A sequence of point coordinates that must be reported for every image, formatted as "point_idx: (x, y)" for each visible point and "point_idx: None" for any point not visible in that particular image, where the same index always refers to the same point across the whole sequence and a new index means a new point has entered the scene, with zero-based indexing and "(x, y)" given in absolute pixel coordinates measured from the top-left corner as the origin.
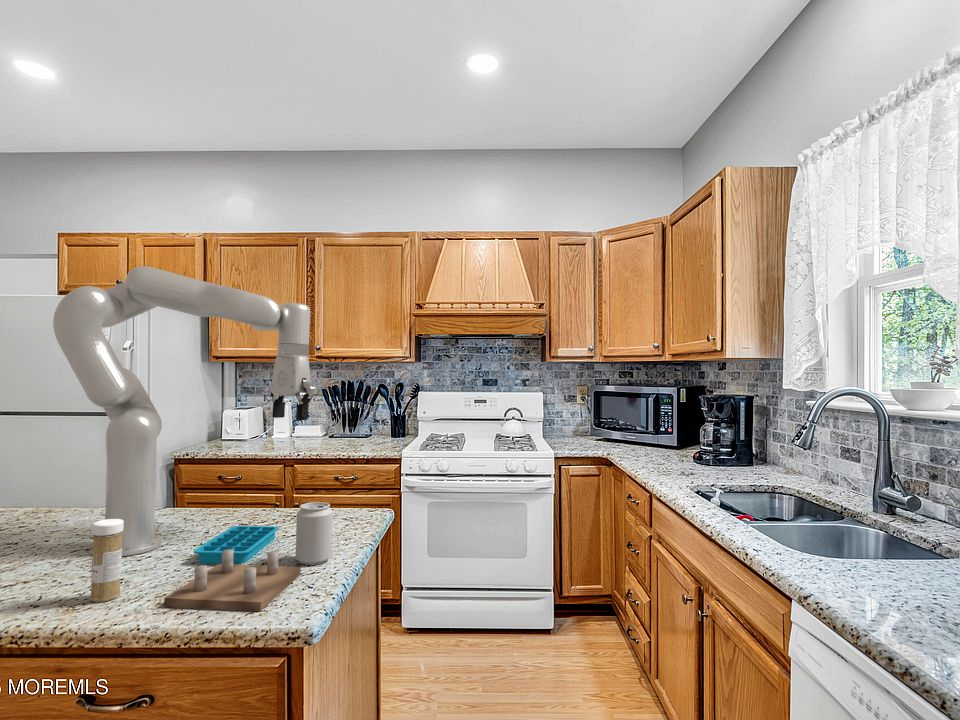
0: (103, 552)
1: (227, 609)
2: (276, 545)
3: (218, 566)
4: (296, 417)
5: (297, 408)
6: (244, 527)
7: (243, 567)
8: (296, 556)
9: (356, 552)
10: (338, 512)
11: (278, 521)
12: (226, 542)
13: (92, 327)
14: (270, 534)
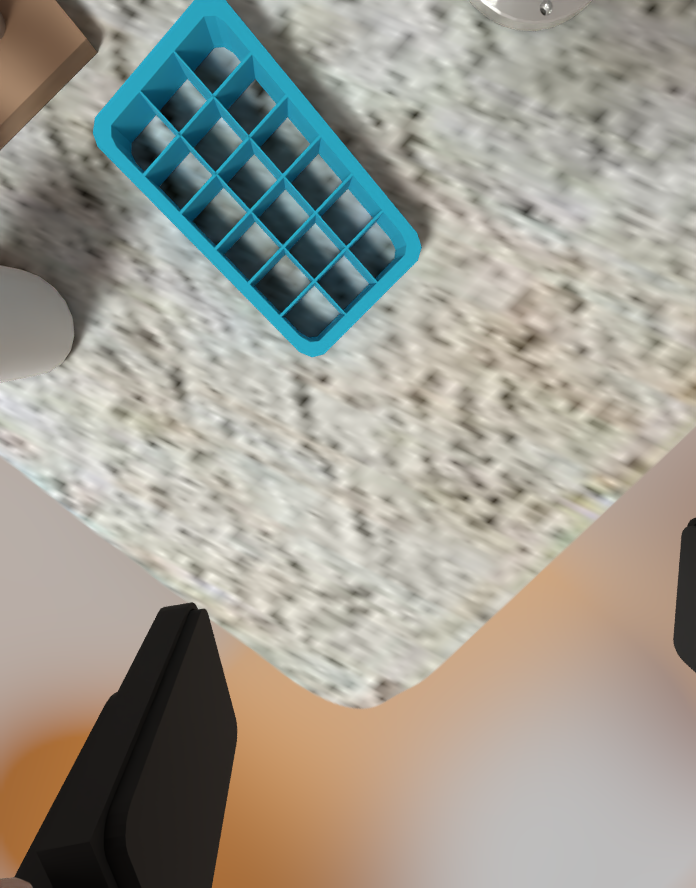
0: None
1: None
2: (238, 312)
3: (59, 25)
4: (171, 620)
5: (98, 748)
6: (389, 270)
7: (1, 85)
8: (14, 268)
9: (24, 451)
10: (438, 612)
11: (477, 436)
12: (246, 134)
13: None
14: (242, 293)
